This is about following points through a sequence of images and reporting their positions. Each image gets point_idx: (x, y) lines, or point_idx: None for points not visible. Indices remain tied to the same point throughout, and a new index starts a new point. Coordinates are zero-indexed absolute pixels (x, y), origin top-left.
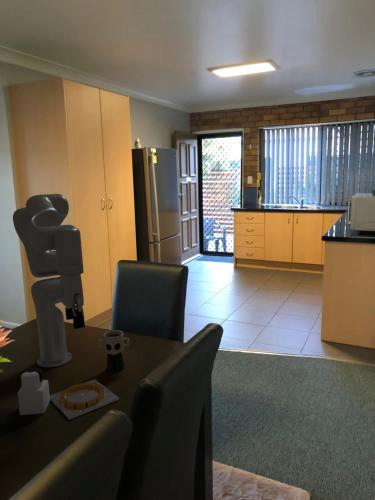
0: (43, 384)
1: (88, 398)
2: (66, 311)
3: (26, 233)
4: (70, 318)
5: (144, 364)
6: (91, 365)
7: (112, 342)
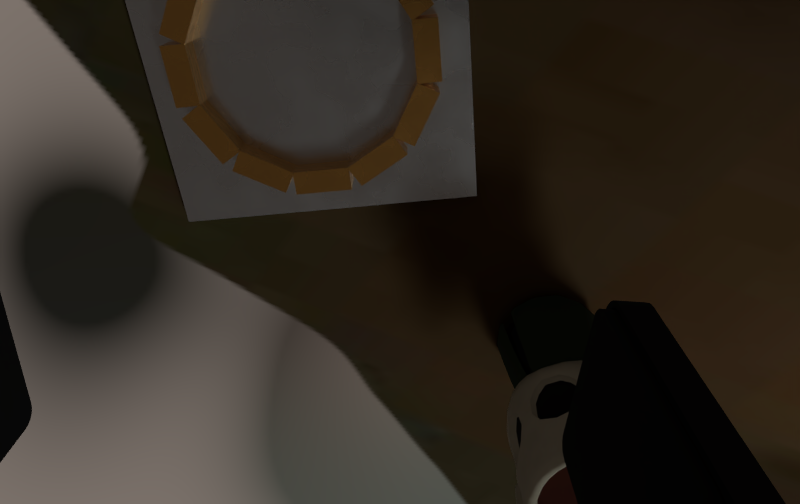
0: None
1: (265, 80)
2: (670, 442)
3: None
4: (588, 370)
5: (480, 445)
6: (691, 244)
7: (532, 445)
